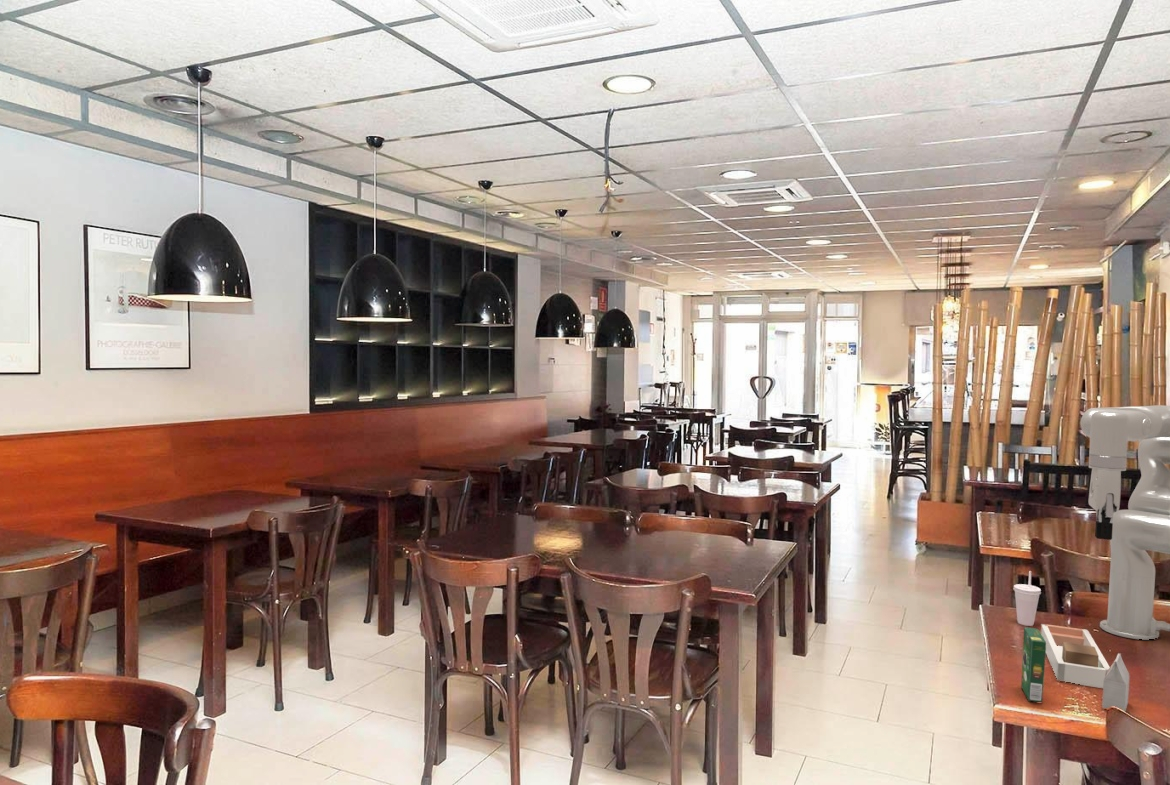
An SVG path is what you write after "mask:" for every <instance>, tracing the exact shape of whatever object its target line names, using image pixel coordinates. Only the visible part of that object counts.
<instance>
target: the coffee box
mask: <svg viewBox="0 0 1170 785" xmlns="http://www.w3.org/2000/svg"><path fill="white" fill-rule="evenodd" d="M1045 662H1046V641H1045V640H1044V638H1043V636H1042V635H1041V630H1039V628H1034V627H1028V626H1025V627H1024V628H1023V646H1022V663H1021V664H1022V666H1021V684H1020V686H1021V688H1022V691H1023V693H1024V695H1025V698H1026V697H1027V698H1026V699H1028V700H1027V702H1029V701H1034V702H1033V703H1035V702H1042V703H1043V695H1044V694H1043V693H1044V680H1045V678H1044V677H1045V666H1046V663H1045Z"/></svg>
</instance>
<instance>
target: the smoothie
mask: <svg viewBox="0 0 1170 785" xmlns="http://www.w3.org/2000/svg"><path fill="white" fill-rule="evenodd" d="M1027 583H1028V584H1025V583H1024V584H1022V583H1019V584H1014V585H1013V591H1014V598H1015V607H1016V608H1015V609H1016V620H1017V624H1019V625H1021V626H1025V627H1028V626H1029V627H1033V626H1034V623H1035V619H1036V614H1037V609H1038V604H1039V598H1040V595H1041V594H1042V592H1041V591H1042V590H1041V588H1040V587H1038V586H1036V585H1032V571H1031V570H1029V571H1028V582H1027Z"/></svg>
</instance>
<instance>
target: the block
mask: <svg viewBox="0 0 1170 785" xmlns="http://www.w3.org/2000/svg"><path fill="white" fill-rule="evenodd" d="M1098 657H1099V656H1098V653H1097V651H1096V649H1095V647H1093V646H1086V645H1080V644H1073V643H1067V642H1063V651H1062V659H1063V661H1064V662H1066V663H1073V664H1080V665H1086V666H1093V667H1098Z"/></svg>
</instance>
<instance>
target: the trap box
mask: <svg viewBox="0 0 1170 785" xmlns="http://www.w3.org/2000/svg"><path fill="white" fill-rule="evenodd" d="M1040 633H1041V635H1042V636H1043V638H1044V640H1045V641H1046V653H1045V655H1046V656H1047V659H1048V661H1049V664H1050V667H1051V666H1052V667H1051V669H1052V668H1053V669H1052V671H1054V672H1053V674H1054V673H1055V674H1054V676H1056V677H1055V679H1056V678H1057V679H1056V681H1057V680H1060V681H1065V682H1064V683H1066V682H1071V683H1070V684H1072V683H1075V684H1074V685H1078V684H1080V685H1079V686H1085V687H1093V688H1099V689H1103V685H1104V678H1105V676H1106V674H1107V671H1108V669H1109V668H1110V667H1111V666H1110V665H1109V663H1108V662H1107V660H1106V658H1105V656H1104V655H1103V653H1102V651H1101V650H1100V648H1099V646H1098V645H1097V643H1096V642H1095V639H1094V638H1093V637H1092V635H1091V633H1090V631H1089V630H1088V629H1084V628H1083V629H1082V628H1075V627H1069V626H1061V625H1054V624H1053V625H1052V624H1047V623H1041V624H1040ZM1063 642H1067V643H1073V644H1080V645H1086V646H1093V647H1095V649H1096V651H1097V653H1098V656H1099V657H1098V667H1093V666H1086V665H1080V664H1073V663H1066V662H1064V661H1063V659H1062V651H1063ZM1057 645H1058V646H1057ZM1060 681H1059V682H1060Z"/></svg>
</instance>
